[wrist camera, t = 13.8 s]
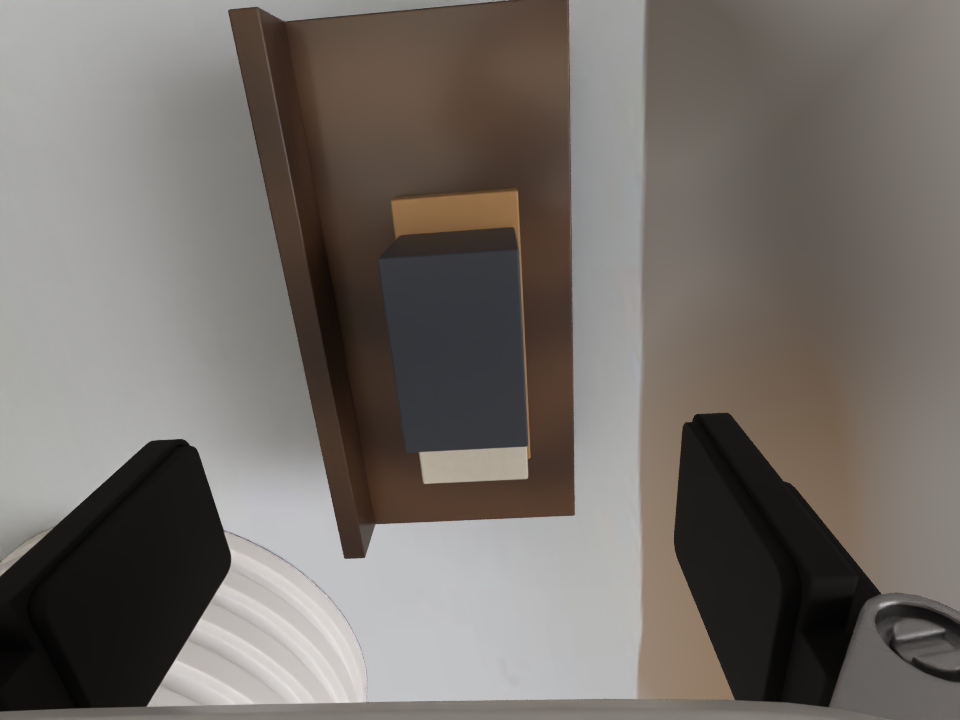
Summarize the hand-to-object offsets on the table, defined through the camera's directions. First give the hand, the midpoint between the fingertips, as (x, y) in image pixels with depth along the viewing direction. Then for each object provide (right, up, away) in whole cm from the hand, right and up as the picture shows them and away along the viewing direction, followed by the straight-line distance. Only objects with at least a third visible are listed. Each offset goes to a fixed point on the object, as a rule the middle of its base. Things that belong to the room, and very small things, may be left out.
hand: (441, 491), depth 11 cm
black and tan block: (0, +4, +13) cm, 14 cm away
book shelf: (-1, +7, +18) cm, 20 cm away
